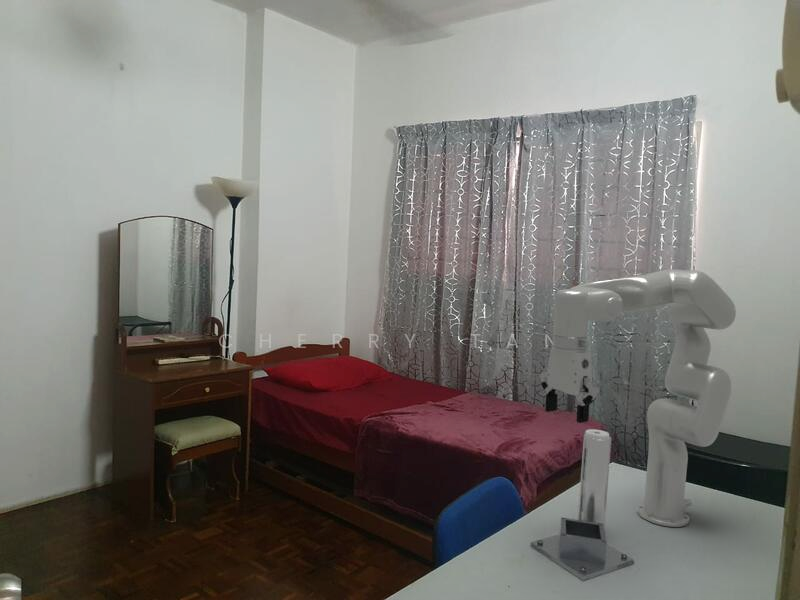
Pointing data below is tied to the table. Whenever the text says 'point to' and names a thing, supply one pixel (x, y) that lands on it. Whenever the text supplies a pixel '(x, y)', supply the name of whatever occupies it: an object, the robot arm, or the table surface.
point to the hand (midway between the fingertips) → (566, 416)
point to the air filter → (594, 476)
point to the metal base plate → (582, 549)
